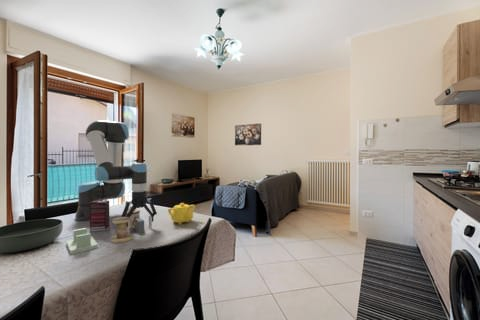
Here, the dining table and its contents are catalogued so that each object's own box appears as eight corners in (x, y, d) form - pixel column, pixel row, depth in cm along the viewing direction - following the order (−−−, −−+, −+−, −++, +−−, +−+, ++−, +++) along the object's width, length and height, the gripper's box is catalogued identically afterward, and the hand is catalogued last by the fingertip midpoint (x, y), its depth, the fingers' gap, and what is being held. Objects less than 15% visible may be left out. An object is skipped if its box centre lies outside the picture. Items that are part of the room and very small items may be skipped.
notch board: (66, 244, 105) (66, 230, 104) (91, 238, 112) (91, 225, 111) (70, 254, 94) (70, 239, 94) (97, 247, 101) (97, 233, 101)
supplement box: (110, 227, 128) (109, 200, 128) (106, 230, 123) (105, 202, 123) (93, 228, 127) (93, 200, 126) (89, 231, 122) (88, 202, 122)
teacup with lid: (134, 229, 126) (134, 208, 126) (119, 228, 127) (119, 208, 126) (145, 222, 138) (145, 203, 138) (131, 222, 139) (131, 203, 138)
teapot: (166, 225, 133) (166, 206, 132) (174, 218, 147) (174, 200, 147) (190, 226, 132) (189, 206, 132) (195, 219, 146) (195, 201, 146)
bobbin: (107, 238, 112) (107, 218, 112) (129, 233, 119) (129, 215, 118) (113, 244, 105) (113, 223, 104) (135, 239, 112) (135, 219, 111)
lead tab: (134, 229, 126) (134, 219, 125) (140, 228, 128) (140, 218, 127) (138, 232, 121) (138, 221, 121) (144, 231, 123) (144, 220, 123)
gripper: (117, 194, 113) (118, 236, 113) (162, 189, 129) (162, 226, 130) (113, 192, 118) (114, 233, 119) (157, 187, 134) (157, 223, 135)
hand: (139, 229), depth 124 cm, fingers open, 11 cm apart
